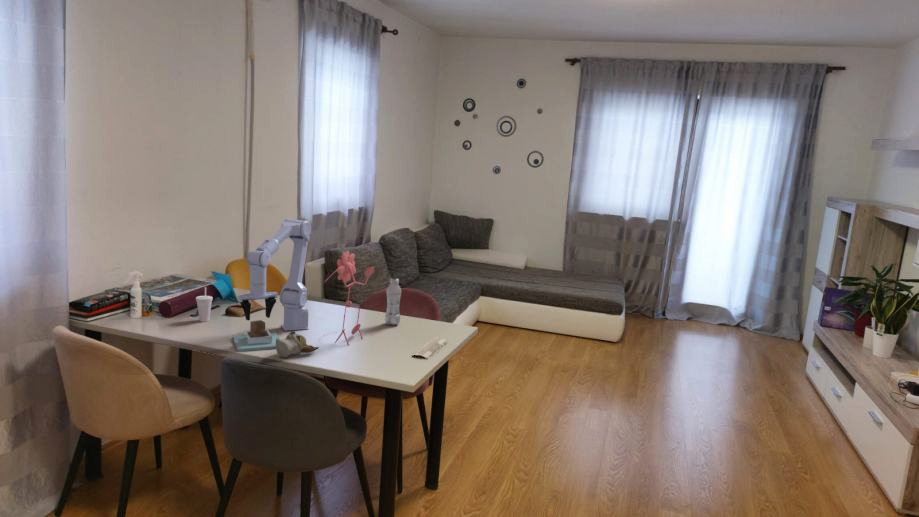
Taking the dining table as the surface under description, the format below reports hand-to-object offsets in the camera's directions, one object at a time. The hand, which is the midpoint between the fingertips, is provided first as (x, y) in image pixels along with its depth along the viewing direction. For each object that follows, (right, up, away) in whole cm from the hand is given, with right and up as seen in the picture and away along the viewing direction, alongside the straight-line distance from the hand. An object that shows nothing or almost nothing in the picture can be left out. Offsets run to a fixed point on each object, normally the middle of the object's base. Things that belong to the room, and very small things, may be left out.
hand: (257, 318), depth 232 cm
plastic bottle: (+46, -6, +36) cm, 59 cm away
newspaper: (+64, -13, +8) cm, 66 cm away
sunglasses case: (-18, -2, +41) cm, 45 cm away
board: (0, -9, +1) cm, 9 cm away
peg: (0, -8, +2) cm, 8 cm away
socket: (0, -9, +1) cm, 9 cm away
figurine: (+29, -9, +13) cm, 33 cm away
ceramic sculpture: (+15, -12, -7) cm, 21 cm away
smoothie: (-30, -3, +24) cm, 38 cm away
